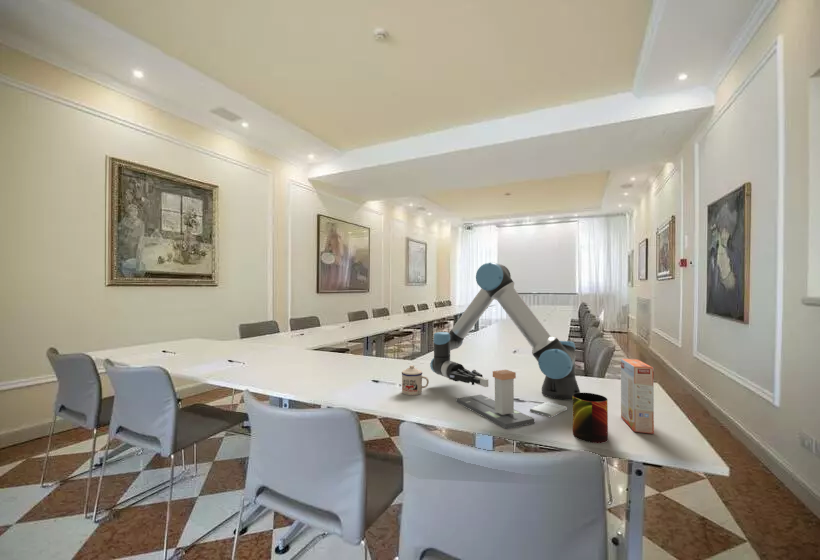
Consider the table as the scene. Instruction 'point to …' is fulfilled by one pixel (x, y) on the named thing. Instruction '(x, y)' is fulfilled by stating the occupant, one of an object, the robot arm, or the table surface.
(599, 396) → the mug
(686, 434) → the table surface
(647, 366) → the cracker box
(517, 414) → the fader console
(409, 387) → the teacup with lid
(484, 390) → the table surface
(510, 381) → the fader lever
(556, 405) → the external hard drive
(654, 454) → the table surface
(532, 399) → the table surface
